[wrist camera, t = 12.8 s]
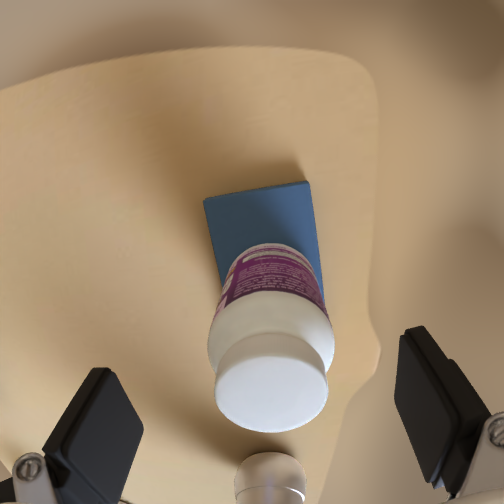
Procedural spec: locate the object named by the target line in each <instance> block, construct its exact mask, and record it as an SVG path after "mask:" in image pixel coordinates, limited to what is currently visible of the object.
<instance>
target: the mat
mask: <svg viewBox="0 0 504 504" xmlns="http://www.w3.org/2000/svg"><path fill="white" fill-rule="evenodd" d="M203 204H204V209H205V213H206V218H207V222H208V227H209V231H210V236H211V240H212V245H213V249H214V253H215V258H216V262H217V266H218V271H219V275H220V279H221V283H222V288H223V287H224V283H225V280H226V277H227V274H228V272H229V269H230V267H231V266H232V264H233V262H234V261H235V260H236V258H237V257H238V256H239V255H240V254H242V253H243V252H244V251H246V250H247V249H249V248H251V247H253V246H257V245H260V244H265V243H277V244H284V245H286V246H289V247H291V248H293V249H295V250H297V251H298V252H300V253H301V254H302V255H303V256H304V257H305V258H306V259H307V260H308V261H309V263H310V264H311V266H312V268H313V270H314V273H315V276H316V279H317V282H318V286H319V289H320V292H321V295H322V299H323V302H324V292H323V283H322V274H321V265H320V257H319V248H318V240H317V233H316V225H315V218H314V211H313V204H312V197H311V190H310V184H309V182H308V181H301V182H295V183H288V184H282V185H276V186H270V187H264V188H258V189H252V190H247V191H241V192H236V193H230V194H225V195H219V196H214V197H209V198H206V199H205V200H204V201H203ZM324 305H325V302H324Z"/></svg>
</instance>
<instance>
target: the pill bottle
mask: <svg viewBox="0 0 504 504" xmlns="http://www.w3.org/2000/svg"><path fill="white" fill-rule="evenodd" d="M334 348H335V341H334V334H333V329H332V326H331V323H330V320H329V317H328V314H327V311H326V308H325V305H324V302H323V299H322V295H321V292H320V289H319V286H318V282H317V279H316V276H315V273H314V270H313V268H312V266H311V264H310V263H309V261H308V260H307V259H306V258H305V257H304V256H303V255H302V254H301V253H300V252H298V251H297V250H295V249H293V248H291V247H289V246H286V245H284V244H277V243H265V244H260V245H257V246H253V247H251V248H249V249H247V250H246V251H244V252H243V253H242V254H240V255H239V256H238V257H237V258H236V260H235V261H234V262H233V264H232V266H231V267H230V269H229V272H228V274H227V277H226V280H225V283H224V287H223V289H222V293H221V296H220V299H219V302H218V305H217V309H216V312H215V315H214V318H213V321H212V324H211V328H210V332H209V337H208V356H209V360H210V363H211V366H212V368H213V370H214V371H215V373H216V379H215V387H214V397H215V401H216V404H217V406H218V408H219V409H220V411H221V412H222V413H223V414H224V415H225V416H226V417H227V418H228V419H229V420H231V421H232V422H234V423H235V424H237V425H239V426H241V427H244V428H247V429H250V430H255V431H260V432H282V431H287V430H291V429H294V428H297V427H300V426H302V425H304V424H306V423H307V422H309V421H310V420H312V419H313V418H314V417H316V416H317V415H318V414H319V413H320V411H321V410H322V409H323V407H324V405H325V403H326V400H327V396H328V384H327V378H326V372H327V371H328V369H329V367H330V365H331V362H332V359H333V355H334Z"/></svg>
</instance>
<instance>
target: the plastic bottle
mask: <svg viewBox="0 0 504 504" xmlns="http://www.w3.org/2000/svg"><path fill="white" fill-rule="evenodd" d="M306 484H307V479H306V476H305V472H304V469H303V466H302V465H301V464H300V463H299V462H298V461H297V460H296V459H295V458H293V457H291V456H289V455H287V454H283V453H278V452H264V453H258V454H254V455H252V456H250V457H248V458H247V459H246V460H245V461H243V462H242V463H241V464H240V465H239V467H238V470H237V473H236V476H235V479H234V486H235V497H236V500H237V504H303V501H304V498H305V493H306Z"/></svg>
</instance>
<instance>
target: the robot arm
mask: <svg viewBox="0 0 504 504" xmlns="http://www.w3.org/2000/svg"><path fill="white" fill-rule="evenodd" d="M398 354H399V355H398V365H397V375H396V384H395V393H394V400H395V404H396V407H397V410H398V412H399V415H400V417H401V419H402V422H403V424H404V427H405V429H406V432H407V434H408V437H409V439H410V442H411V444H412V447H413V450H414V452H415V455H416V457H417V460H418V463H419V465H420V468H421V470H422V473H423V476H424V479H425V481H426V482H427V483H430V482H431V483H432V485H433V488H434V489H436V488H439V487H442V486H445V488H446V491H447V492H449V495H448V497H447V499H446V501H445V502H443V503H440V504H504V412H499V413H496V414H494V415H491V413H490V412H489V410H488V409H487V407H486V406H485V404H484V403H483V401H482V400H481V398H480V397H479V395H478V394H477V392H476V391H475V389H474V388H473V386H472V385H471V383H470V382H469V381H468V379H467V378H466V376H465V375H464V373H463V372H462V371H461V369H460V368H459V366H458V365H457V364H456V363H455V361H454V360H452V359H448V358H447V357H446V356H445V354H444V353H443V351H442V350H441V349H440V347H439V346H438V344H437V343H436V342H435V340H434V339H433V338H432V336H431V335H430V334H429V332H428V331H427V330H426V328H425V327H424V326H418V327H414V328H410V329H406V330H405V333H404V335H401V336H400V341H399V353H398ZM143 431H144V428H143V424H142V422H141V420H140V418H139V416H138V415H137V413H136V411H135V409H134V408H133V406H132V404H131V402H130V400H129V398H128V397H127V395H126V393H125V391H124V389H123V387H122V385H121V383H120V381H119V379H118V377H117V375H116V374H115V373H114V372H112V371H111V369H109V368H107V367H105V368H93V369H92V370H91V371H90V372H89V374H88V375H87V377H86V378H85V380H84V382H83V383H82V385H81V386H80V388H79V389H78V391H77V392H76V394H75V396H74V397H73V399H72V400H71V402H70V404H69V405H68V407H67V408H66V410H65V412H64V413H63V415H62V416H61V418H60V420H59V421H58V423H57V425H56V426H55V428H54V430H53V431H52V433H51V435H50V436H49V438H48V440H47V441H46V443H45V445H44V446H43V448H42V450H43V452H44V453H45V456H44V457H43V456H42V455H40V454H38V453H33V452H31V453H27V454H25V455H23V456H21V457H20V458H19V459H18V460H17V461H16V462H15V464H14V466H13V469H12V477H11V478H9V479H6V480H4V481H2V482H0V504H118V503H119V500H120V497H121V494H122V491H123V488H124V485H125V483H126V480H127V477H128V474H129V471H130V468H131V465H132V462H133V460H134V457H135V454H136V451H137V448H138V446H139V443H140V440H141V437H142V435H143Z"/></svg>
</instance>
